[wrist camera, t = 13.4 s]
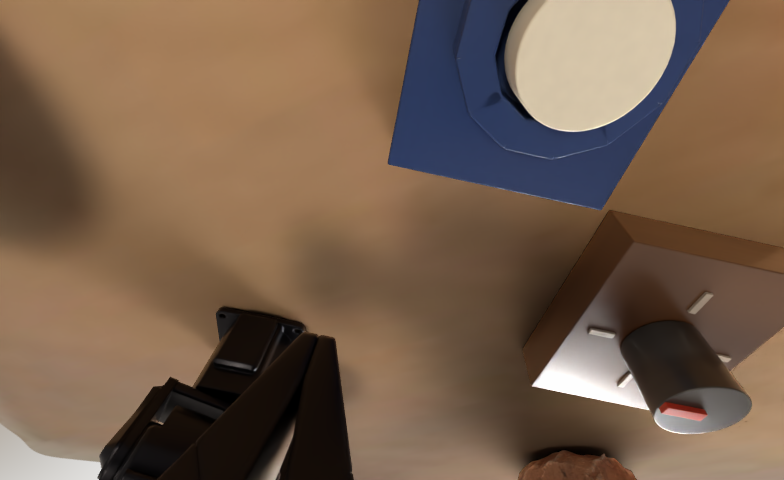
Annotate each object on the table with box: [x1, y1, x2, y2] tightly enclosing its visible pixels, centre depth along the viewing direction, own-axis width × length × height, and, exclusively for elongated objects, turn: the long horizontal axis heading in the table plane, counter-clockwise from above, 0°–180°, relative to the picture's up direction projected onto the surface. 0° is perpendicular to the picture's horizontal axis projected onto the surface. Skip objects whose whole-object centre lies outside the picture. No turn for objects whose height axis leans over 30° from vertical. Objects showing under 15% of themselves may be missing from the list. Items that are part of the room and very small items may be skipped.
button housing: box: [388, 0, 730, 210], centre depth 13 cm, size 12×10×5 cm
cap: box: [504, 0, 676, 132], centre depth 11 cm, size 4×4×2 cm
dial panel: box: [522, 210, 784, 410], centre depth 22 cm, size 12×10×3 cm
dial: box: [621, 321, 752, 434], centre depth 19 cm, size 4×4×4 cm
